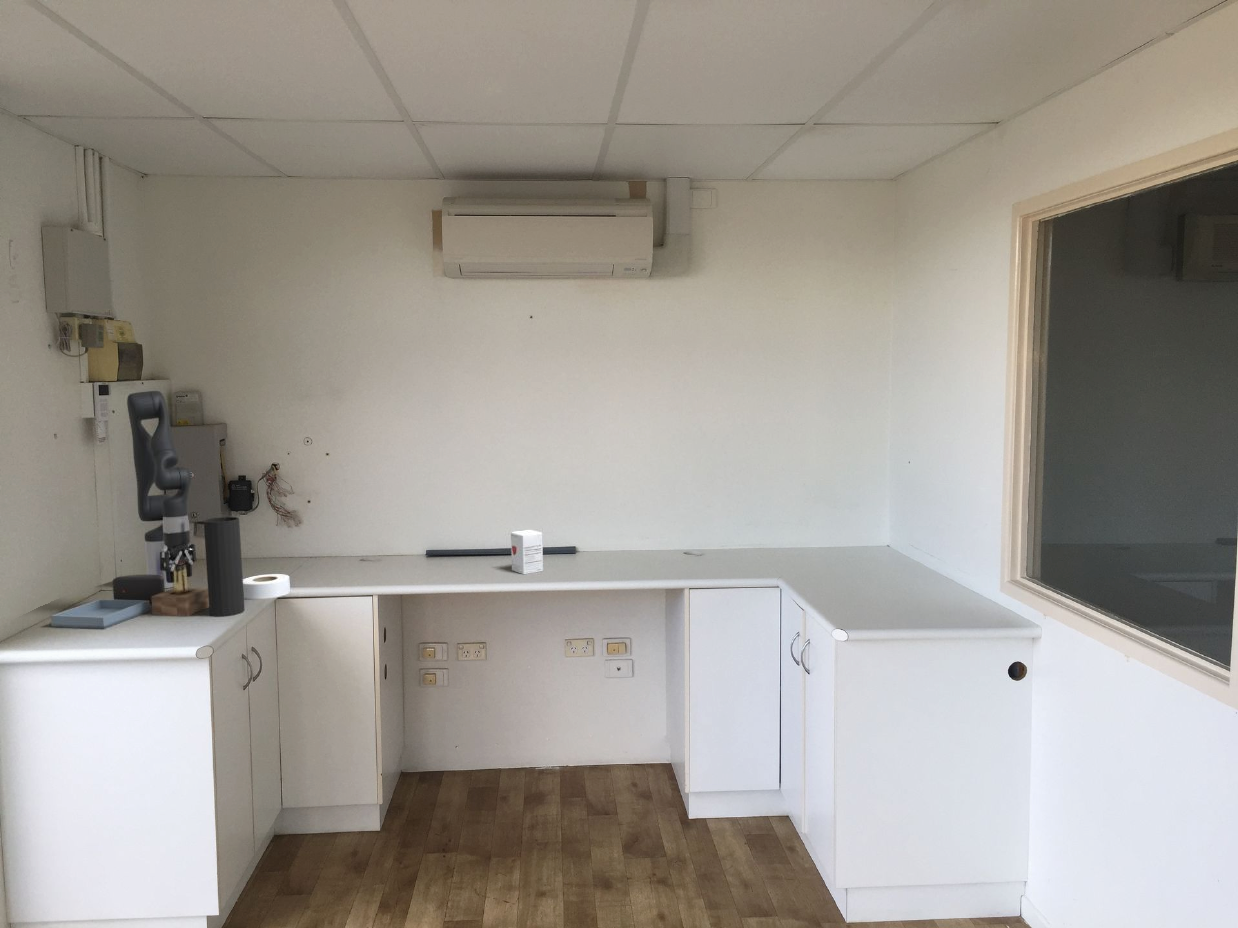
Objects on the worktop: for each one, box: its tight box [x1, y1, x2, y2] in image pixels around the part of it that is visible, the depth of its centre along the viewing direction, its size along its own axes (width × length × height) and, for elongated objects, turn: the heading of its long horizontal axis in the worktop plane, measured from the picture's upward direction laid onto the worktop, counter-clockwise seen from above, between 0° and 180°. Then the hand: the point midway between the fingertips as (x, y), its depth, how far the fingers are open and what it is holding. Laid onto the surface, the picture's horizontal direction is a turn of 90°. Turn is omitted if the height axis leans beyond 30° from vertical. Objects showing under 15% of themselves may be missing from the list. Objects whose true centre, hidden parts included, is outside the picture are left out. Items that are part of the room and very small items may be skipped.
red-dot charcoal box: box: [112, 574, 166, 605], centre depth 295 cm, size 16×5×9 cm, turn 96°
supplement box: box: [510, 529, 544, 575], centre depth 334 cm, size 9×9×15 cm
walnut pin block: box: [151, 587, 209, 617], centre depth 284 cm, size 12×12×6 cm
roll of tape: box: [243, 573, 291, 601], centre depth 305 cm, size 16×16×6 cm
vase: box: [203, 516, 246, 618], centre depth 280 cm, size 10×10×30 cm
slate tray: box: [50, 598, 151, 630], centre depth 276 cm, size 20×18×4 cm
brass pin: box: [172, 563, 189, 595], centre depth 284 cm, size 4×4×15 cm
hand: (179, 579), depth 284 cm, fingers open, 8 cm apart
